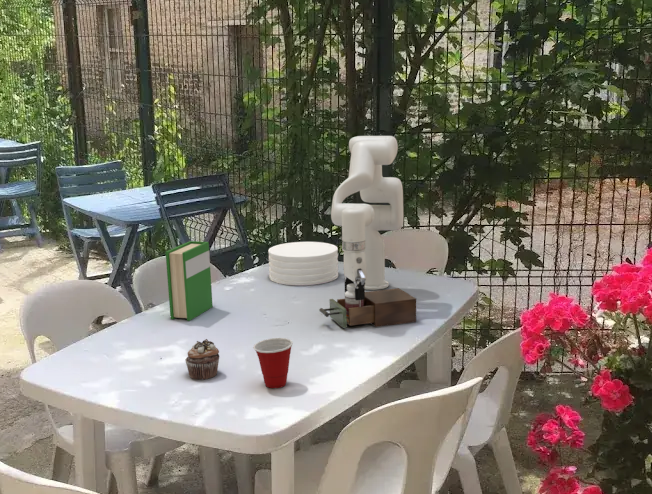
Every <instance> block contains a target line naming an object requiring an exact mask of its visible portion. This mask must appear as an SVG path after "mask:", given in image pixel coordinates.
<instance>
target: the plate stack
mask: <svg viewBox="0 0 652 494" xmlns="http://www.w3.org/2000/svg"><path fill="white" fill-rule="evenodd" d="M338 251H339V249H338V246H337V245H335V244H332V243H328V242H323V241H294V242H293V241H292V242H286V243H280V244H277V245H273V246H271V247H269V248H268V267H269V268H268V273H269V275H268V276H269V277H268V278H269V280H270V281H272V282H273V283H276V284H280V285H287V286H314V285H321V284H326V283H329V282H333V281H335V280H337V279H338V278H339V266H338V265H339V260H338V258H339V254H338Z"/></svg>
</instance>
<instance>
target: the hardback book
mask: <svg viewBox="0 0 652 494" xmlns="http://www.w3.org/2000/svg"><path fill="white" fill-rule="evenodd" d="M209 242H210V241H197V240H189V241H187V242H185V243H182V244H180V245H177V246H176V247H173V248H171V249H168V250H166V251H165V262H166V263H165V264H166V276H167V277H166V278H167V290H168V304H169V318H170V320H175V319H177V318H178V319H186V322H190V321H193V320H194V319H196V318H197V317H199V316H200V315H202V314H203V313H206V312H207V311H209V310H210V309H211V308H213V306H214V304H213V290H212V275H211V274H212V273H211V257H210V246H209V245H210V243H209ZM170 316H171V317H170Z"/></svg>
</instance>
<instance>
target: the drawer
mask: <svg viewBox="0 0 652 494" xmlns="http://www.w3.org/2000/svg"><path fill="white" fill-rule="evenodd" d="M328 301H329V307H328V308H322V307H320V308H319V312H320V313H321V314H322V315H323V316H324V317H326V318H328V317H329V318H331V320H333V321H334V322H336V323H337V324H338V325H339V326H340V327H341V328H343V329H346V328H347V327H348V326H351V327H352V326H358V325H366V324H371V323H375V305H374V304H372V303H371V302H369V301H368V300H366V299H364V300H363V304H364V306H362V307H354V308H349V318H347V317H346V309H345V298H337V299H336V300H335V299H333V298H329V300H328Z"/></svg>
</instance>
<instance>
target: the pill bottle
mask: <svg viewBox="0 0 652 494" xmlns="http://www.w3.org/2000/svg"><path fill="white" fill-rule="evenodd" d="M355 288H356V286H355V282H354V283H353V284H348V285H347V290H348V291H346V292H345V291H344V299H345V309H346V317H347V318H349V308H354V307H362V306H364V304H363V300H355Z"/></svg>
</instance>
